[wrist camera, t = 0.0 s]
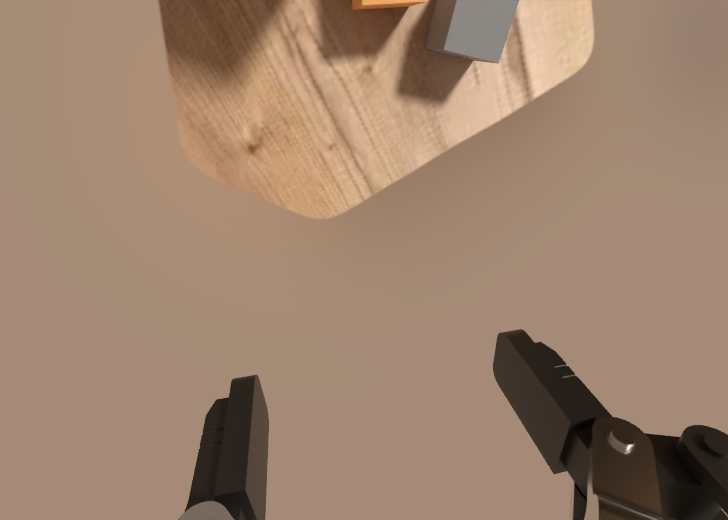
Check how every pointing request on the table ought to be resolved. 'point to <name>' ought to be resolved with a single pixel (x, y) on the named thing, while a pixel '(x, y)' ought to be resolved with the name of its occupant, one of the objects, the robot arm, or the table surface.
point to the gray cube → (471, 28)
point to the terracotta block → (383, 3)
